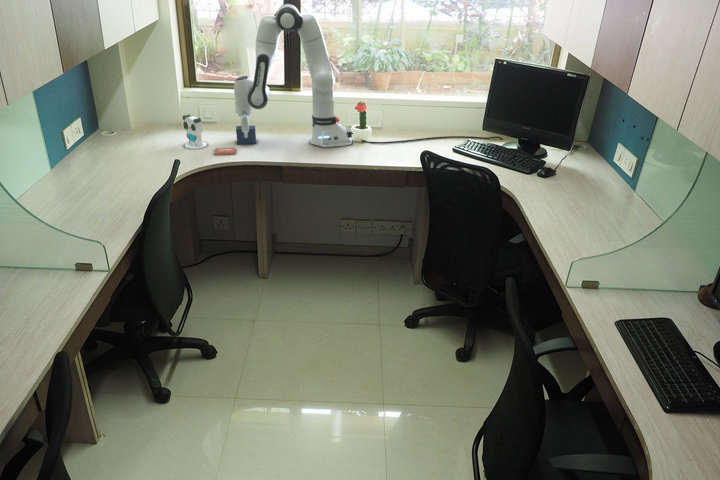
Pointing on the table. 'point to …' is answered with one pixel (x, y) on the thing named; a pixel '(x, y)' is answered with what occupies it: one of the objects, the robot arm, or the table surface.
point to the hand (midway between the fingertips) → (246, 135)
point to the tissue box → (251, 135)
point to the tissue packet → (224, 151)
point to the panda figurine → (193, 132)
